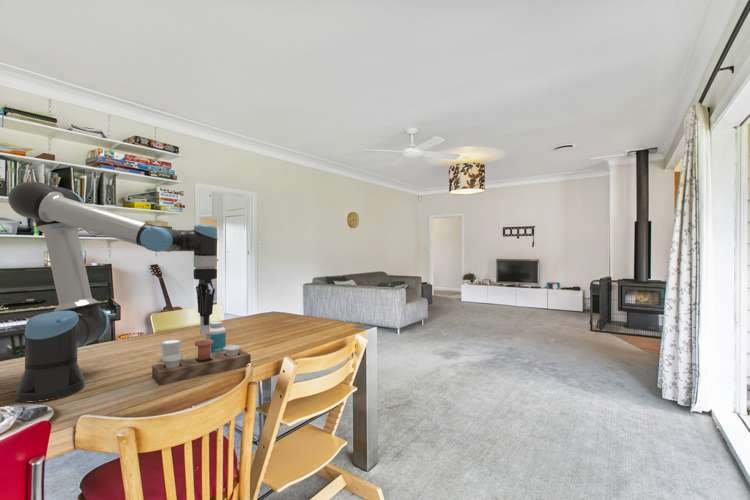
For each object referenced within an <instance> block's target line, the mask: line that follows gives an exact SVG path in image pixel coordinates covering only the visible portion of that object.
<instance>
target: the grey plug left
mask: <svg viewBox="0 0 750 500" xmlns="http://www.w3.org/2000/svg"><path fill="white" fill-rule="evenodd" d="M182 360H184V356H183V354H180V355H170V356H166V357H164V358H162V363H166V369H170V368H175V367H179V362H180V361H182Z"/></svg>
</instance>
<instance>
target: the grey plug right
mask: <svg viewBox="0 0 750 500" xmlns="http://www.w3.org/2000/svg"><path fill="white" fill-rule="evenodd" d="M241 347H242V346H241V345H240V344H229V345H226V346H225V347H224V351H225V352H226V356H227V357H232V356H237V355H238V350H242V349H241Z"/></svg>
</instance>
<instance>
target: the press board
mask: <svg viewBox="0 0 750 500" xmlns="http://www.w3.org/2000/svg"><path fill="white" fill-rule="evenodd" d="M251 357H252V355H251V354H250V353H248V352H246V351H244V350H242V349H240V350H238V355H237V356H232V357H227V356H226V352H222V353H217V354H211V355H210V359H207V360H198V356H196V357H190V358H185V359H184V358H183V360H182V361H180V362H179V367H175V368H170V369H166V363H163V362H162V363H157V364H156V363H155V364H152V365H151V378H152V379H153V380H154V381H155V382H156V384H157V385H158V386H163V385H167V384H172V383H176V382H182V381H185V380H190V379H195V378H199V377H203V376H208V375H212V374H218V373H222V372H227V371H232V370H237V369H240V367H241V368H244V367H245V366H246V365H247V364H248V363H251V362H252V361H251ZM246 367H247V366H246Z"/></svg>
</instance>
